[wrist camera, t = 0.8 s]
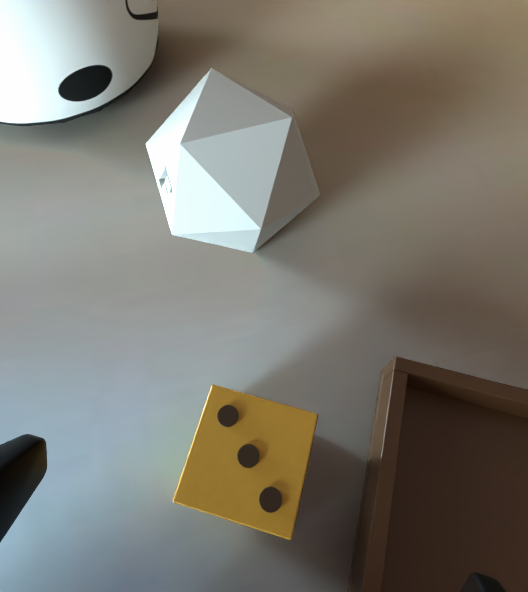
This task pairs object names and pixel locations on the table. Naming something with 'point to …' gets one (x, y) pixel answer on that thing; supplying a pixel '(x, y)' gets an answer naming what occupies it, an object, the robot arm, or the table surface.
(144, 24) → the doce de leite jar
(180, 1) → the table surface
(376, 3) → the table surface
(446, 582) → the tray
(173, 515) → the table surface
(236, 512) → the ochre die
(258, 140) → the die
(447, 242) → the table surface
